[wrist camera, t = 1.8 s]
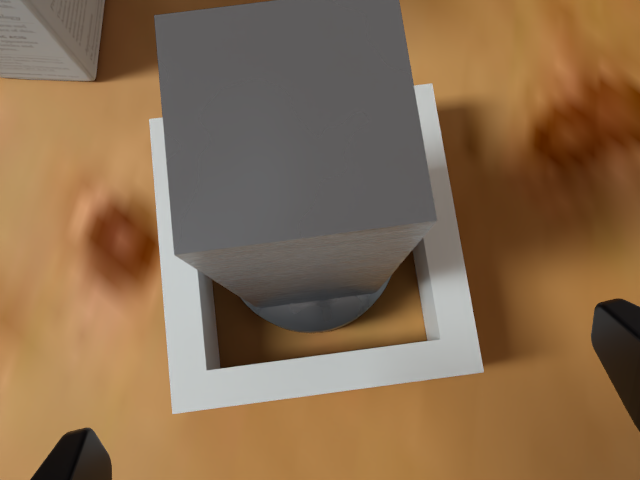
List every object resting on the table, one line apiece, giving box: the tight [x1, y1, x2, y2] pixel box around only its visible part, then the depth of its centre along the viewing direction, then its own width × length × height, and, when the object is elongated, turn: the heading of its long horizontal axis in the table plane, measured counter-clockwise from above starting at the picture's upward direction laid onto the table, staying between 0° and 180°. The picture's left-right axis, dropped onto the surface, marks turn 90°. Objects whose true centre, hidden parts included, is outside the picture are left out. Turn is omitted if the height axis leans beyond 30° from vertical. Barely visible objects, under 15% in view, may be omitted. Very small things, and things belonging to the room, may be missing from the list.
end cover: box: [154, 0, 437, 333], centre depth 16 cm, size 6×6×13 cm
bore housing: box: [149, 84, 484, 414], centre depth 21 cm, size 10×10×2 cm
